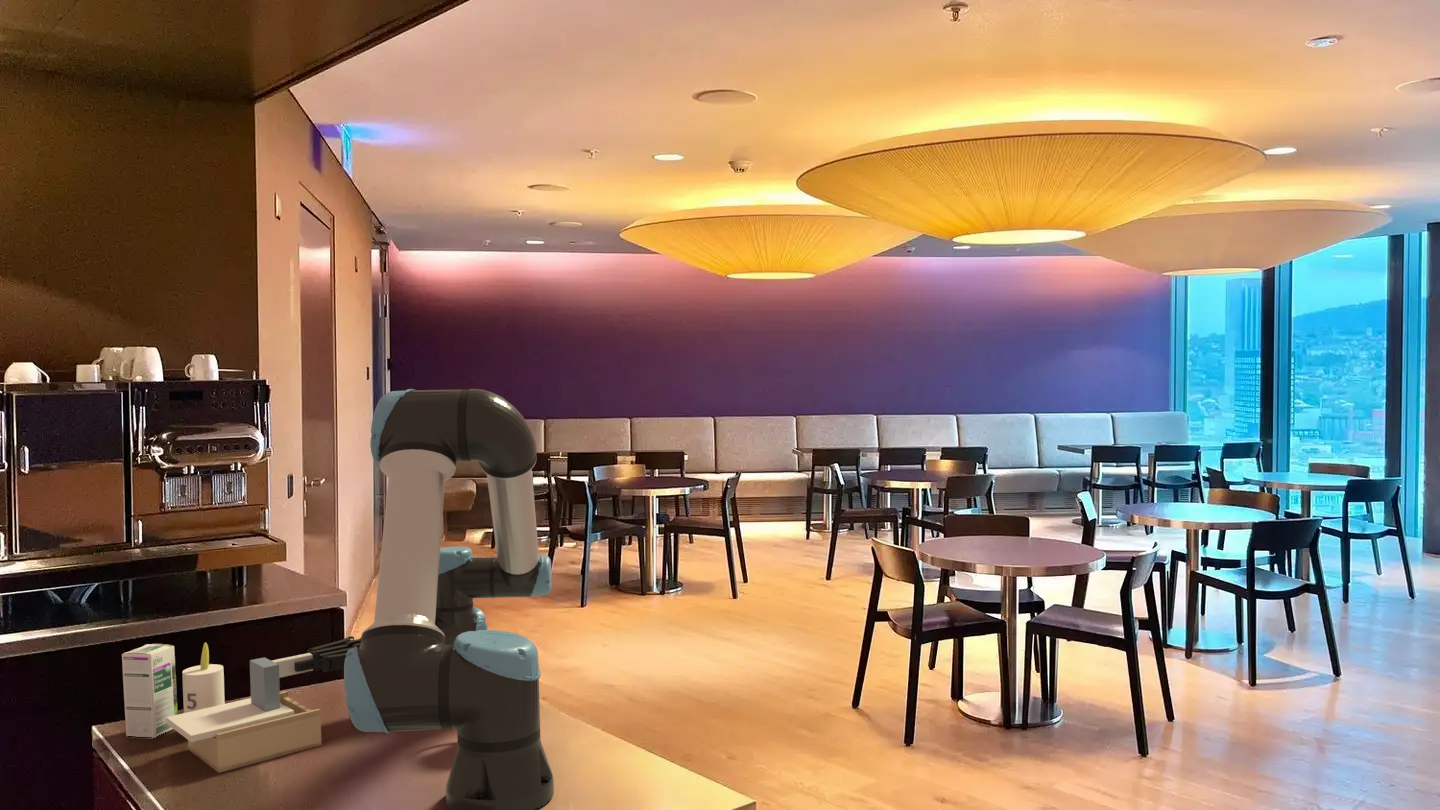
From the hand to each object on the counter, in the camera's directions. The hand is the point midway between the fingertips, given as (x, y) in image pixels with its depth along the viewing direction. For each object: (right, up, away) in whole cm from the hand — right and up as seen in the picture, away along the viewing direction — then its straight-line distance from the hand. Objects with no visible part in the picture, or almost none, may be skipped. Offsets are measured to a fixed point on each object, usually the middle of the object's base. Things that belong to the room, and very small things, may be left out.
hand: (272, 669), depth 174 cm
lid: (-5, -7, -5) cm, 10 cm away
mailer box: (-2, -12, -2) cm, 12 cm away
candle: (-14, -12, +6) cm, 20 cm away
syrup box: (-23, -12, +5) cm, 26 cm away
